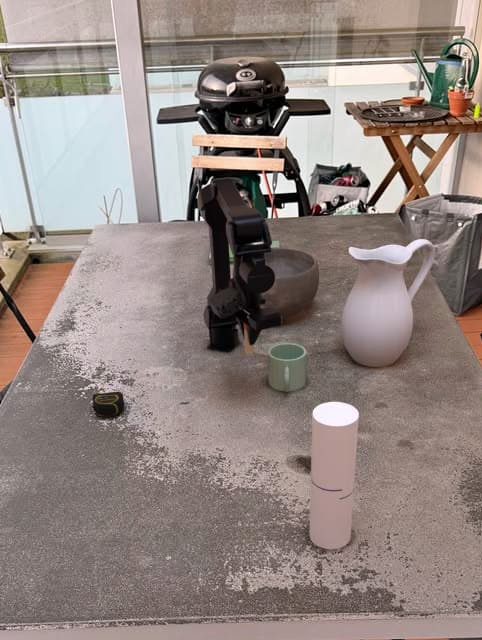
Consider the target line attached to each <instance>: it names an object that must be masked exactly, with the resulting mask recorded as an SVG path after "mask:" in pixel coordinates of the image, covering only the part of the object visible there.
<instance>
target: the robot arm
mask: <svg viewBox="0 0 482 640" xmlns="http://www.w3.org/2000/svg"><path fill="white" fill-rule="evenodd" d="M196 200H197V201H196V202H197V209H198V211H199V212H200V216H201V218H202V219H203V221H204V222H205V224H206V225H207V227H208V237H209V253H210V252H211V264H210V265H211V267H210V268H211V276H212V277H211V278H212V279H211V280H212V281H211V282H212V287H211V289H210V291H209V293H208V295H207V297H206V302H207V303H206V304H207V305H205V308H204V311H203V314H202V315H203V321H204V324H205V326H206V328H207V329H208V333H209V344H208V345H207V347H206V349H207V350H212V351H219V352H224V353H231V352H232V351H233V350H234V349H235V347H237V346H238V345H239V344H240V340H239V329H240V333H241V335H242V338H243V341H244V342H245V336H244V324H246V327H247V334H248V340H249V345H254V346H255V344H256V342H257V340H258V339H259V337H260V334H261V332H262V331H265V330H268V329H272V328H275V327H279V326H282V325H283V320H282V315H281V314H280V313H279V312H277V311H276V310H274V309H273V308H271V307H267V308H265V307H260V305H261V304H265V303H266V299H265V298H263V297H262V293H264V292H267V291H268V290H270V289H271V288H272V286H273V285H274V282H275V274H274V271H273V270H272V268H271V267H270V266H269V265H268V264H267V263H266V261H265V258H264V253H269V252H271V245H272V241H273V240H272V236H271V232H270V228H269V225H268V223H267V222H266V221H267V220H266V218H265V217H263V215H262V213H260V212H259V210H257V209H256V208H254V207H250V206H248V205H247V204H246V202H245V200H244V199H243V197H242V195H241V193H240V191H239V190H238V188H237V185H236V180H235V178H234V177H230V176H229V177H228V176H227V177H220V178H213V179H212V180H210V182H209V184H207V185H205V186H203V187H202V188H200V189H199V191H198V193H197V197H196ZM257 242H264V244H256V245H253V244H251V243H257ZM229 245H230V248H231V252H232V254H233V264H232V265H233V266H234V278H232V277H231V273H232V272H231V264H230V256H229ZM237 326H238V327H239V329H238V328H237Z"/></svg>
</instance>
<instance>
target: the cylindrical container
mask: <svg viewBox="0 0 482 640" xmlns="http://www.w3.org/2000/svg"><path fill="white" fill-rule="evenodd" d="M311 416H312V417H311V418H312V419H311V420H312V422H311V423H312V424H311V454H310V455H311V456H310V457H311V458H310V460H311V461H310V462H311V463H310V492H309V493H310V494H309V496H310V499H309V532H308V533H309V539H310V541H311V542H312V544H314V545H315V546H317V547H319V548H321V549H324V550H338V549H341V548H344V547H345V546H347V545H348V544H349V542H350V541H351V536H352V524H353V523H352V522H353V506H354V492H355V477H356V465H357V450H358V449H357V448H358V435H359V422H360V421H359V419H360V413H359V410H358V409H357V408H356V407H355V406H353V405H352V404H349V403H346V402H342V401H328V402H322V403H321V404H319V405H317V406H315V408H314V409H313V410H312V415H311Z"/></svg>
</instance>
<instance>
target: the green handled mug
mask: <svg viewBox="0 0 482 640" xmlns="http://www.w3.org/2000/svg"><path fill="white" fill-rule="evenodd" d="M267 378H268V379H267V381H268V386H269V387H270V388H272V389H274V390H276V391H279V392H285V393H288V392H294V391H298V390H300V389H302V388H303V387H305V386H306V383H307V349H306V348H305V347H304V346H302V345H301V344H297V343H292V342H281V343H277V344H274V345H272V346H270V348H269V349H267Z"/></svg>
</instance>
